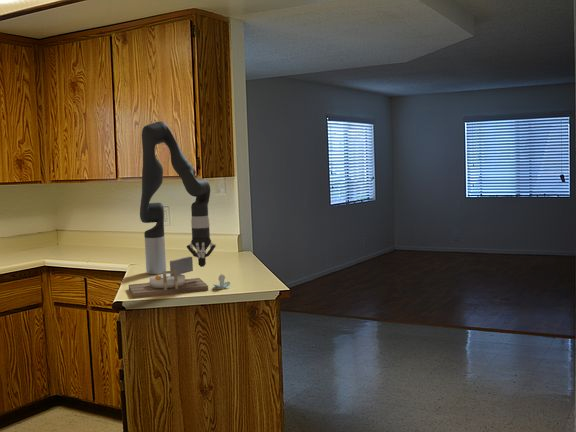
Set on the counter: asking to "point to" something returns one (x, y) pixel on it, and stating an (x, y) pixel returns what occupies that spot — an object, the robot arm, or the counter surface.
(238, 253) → the counter surface
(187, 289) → the stand
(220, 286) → the pacifier
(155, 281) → the cam foot
